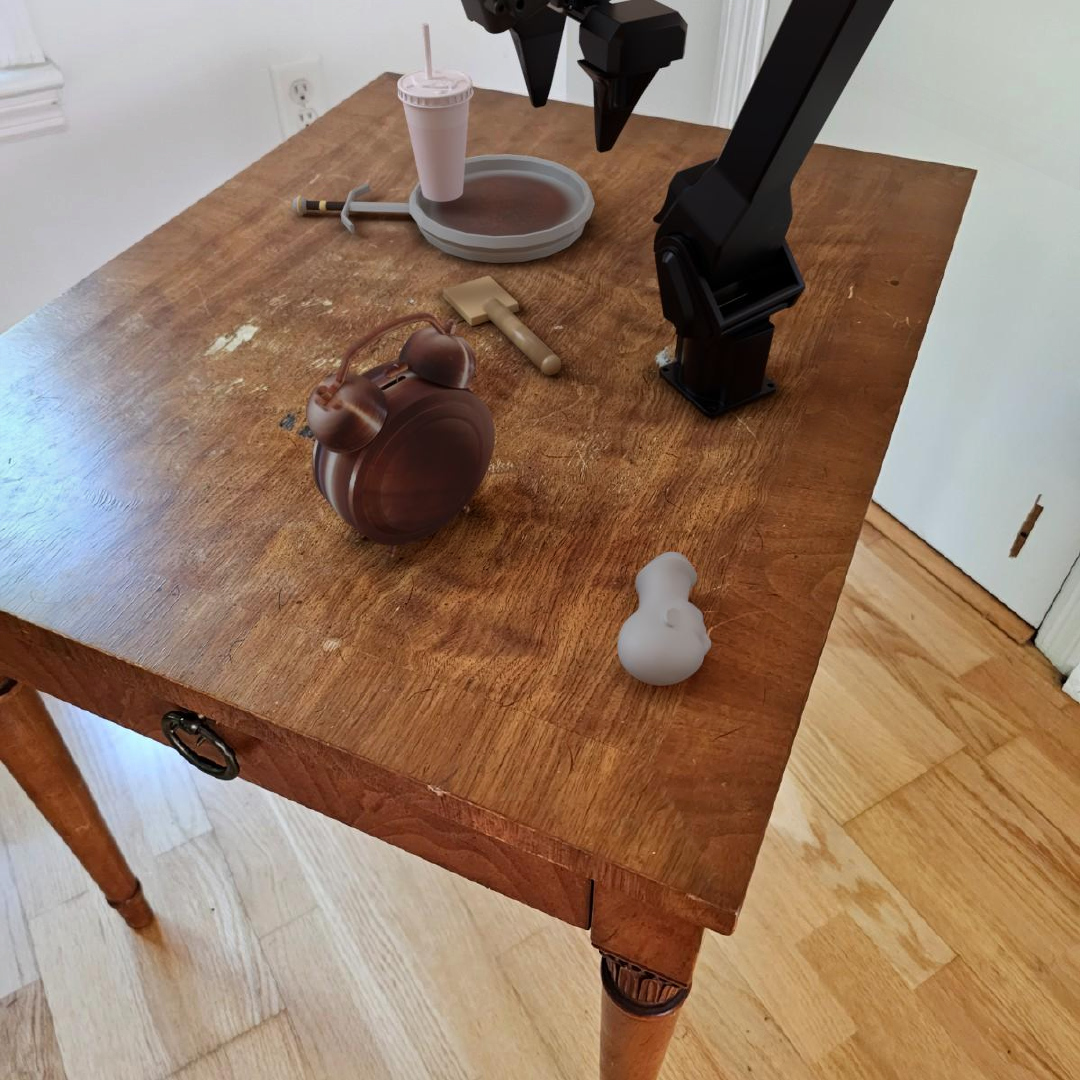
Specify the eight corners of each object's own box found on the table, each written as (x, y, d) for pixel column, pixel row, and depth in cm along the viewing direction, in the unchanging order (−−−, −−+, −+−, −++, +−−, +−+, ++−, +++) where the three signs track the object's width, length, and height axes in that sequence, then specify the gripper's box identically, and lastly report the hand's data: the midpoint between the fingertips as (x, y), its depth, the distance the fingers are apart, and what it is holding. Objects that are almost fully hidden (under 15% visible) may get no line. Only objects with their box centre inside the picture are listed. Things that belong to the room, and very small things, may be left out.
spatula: (580, 369, 73) (581, 352, 72) (530, 387, 71) (530, 370, 70) (489, 283, 81) (488, 266, 80) (443, 297, 80) (441, 280, 79)
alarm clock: (456, 469, 65) (441, 270, 54) (503, 505, 62) (497, 305, 52) (320, 547, 60) (274, 345, 49) (366, 590, 57) (327, 387, 46)
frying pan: (309, 149, 94) (596, 151, 92) (315, 178, 96) (595, 180, 95) (266, 236, 82) (594, 239, 81) (274, 266, 84) (593, 270, 83)
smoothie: (435, 170, 90) (422, 7, 80) (491, 187, 88) (486, 21, 78) (393, 197, 86) (374, 29, 76) (451, 215, 84) (440, 45, 74)
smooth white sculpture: (682, 717, 53) (597, 680, 52) (706, 607, 58) (629, 573, 58) (716, 680, 49) (626, 640, 49) (738, 567, 55) (657, 531, 54)
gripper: (399, -134, 64) (419, 106, 75) (545, -65, 53) (542, 204, 64) (543, -151, 68) (541, 78, 79) (706, -91, 57) (677, 167, 68)
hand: (570, 127), depth 72 cm, fingers open, 9 cm apart
